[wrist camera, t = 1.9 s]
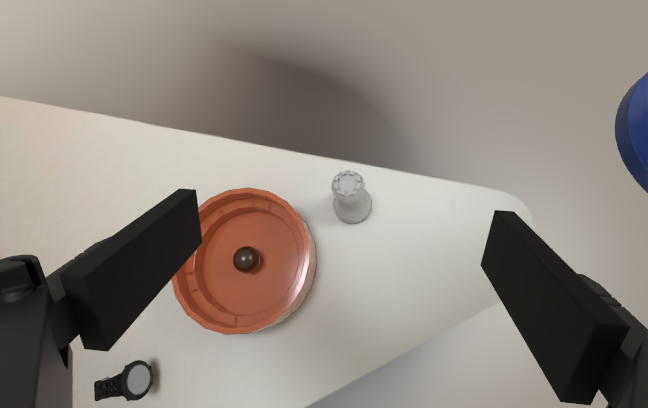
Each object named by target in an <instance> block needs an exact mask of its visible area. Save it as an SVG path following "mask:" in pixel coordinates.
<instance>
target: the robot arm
mask: <svg viewBox="0 0 648 408" xmlns="http://www.w3.org/2000/svg"><path fill="white" fill-rule="evenodd" d="M202 243H203V242H202V234H201V227H200V219H199V211H198V204H197V196H196V190H191V189H178V190H177V191H176V192H174V193H173V194H171V195H170V196H168V197H167V198H166V199H164V200H163V201H161V202H160V203H159V204H157V205H156V206H154V207H153V208H151V209H150V210H149V211H147V212H146V213H144V214H143V215H142V216H140V217H139V218H137V219H136V220H134V221H133V222H132V223H130V224H129V225H127V226H126V227H125V228H123V229H122V230H120V231H119V232H117V233H116V234H115V235H113V236H112V237H109V238H107V239H104V240H102V241H100V242H97V243H95V244H94V245H92V246H91V247H89V248H88V249H86V250H85V251H84V253H81V254H79V255H78V256H76V257H75V259H72V260H70V261H69V262H68V263H66V264H65V265H63V266H62V267H60V268H59V269H57V270H56V271H54V272H53V273H52V274H50V275H49V276H47V277H46V278H45V276H44V273H43V270H42V268H41V265H40V262H39V260H38V257H36V256H33V255H18V256H11V257H7V258H4V259H0V408H72V354H73V353H72V350H71V347H70V344H69V343H71V342H72V341H73V340H74V339H75V338H76V337H77V336H78V335H79V334H80V337H81V340H82V343H83V346H84V349H90V350H99V351H109V350H110V349H111V347H112V346H113V345H114V344H115V343H116V342H117V340H118V339H119V338H120V337H121V336H122V335H123V334H124V332H125V331H126V330H127V329H128V328H129V327H130V326H131V324H132V323H133V322H134V321H135V320H136V319H137V317H138V316H139V315H140V314H141V313H142V312H143V311H144V309H145V308H146V307H147V306H148V305H149V304H150V303H151V301H152V300H153V299H154V298H155V297H156V296H157V294H158V293H159V292H160V291H161V290H162V289H163V288H164V286H165V285H166V284H167V283H168V282H169V281H170V280H171V278H172V277H173V276H174V275H175V274H176V273H177V271H178V270H179V269H180V268H181V267H182V266H183V265H184V263H185V262H186V261H187V260H188V259H189V258H190V257H191V255H192V254H193V253H194V252H195V251H196V250H197V248H198V247H199V246H200V245H201V244H202ZM481 267H482V269H483V270H484V272H485V274H486V275H487V277H488V279H489V280H490V282H491V284H492V286H493V287H494V289H495V291H496V292H497V294H498V296H499V298H500V299H501V301H502V303H503V304H504V306H505V308H506V309H507V311H508V313H509V315H510V316H511V318H512V320H513V321H514V323H515V325H516V327H517V328H518V330H519V332H520V333H521V335H522V337H523V339H524V340H525V342H526V344H527V345H528V347H529V349H530V351H531V352H532V354H533V356H534V357H535V359H536V361H537V362H538V364H539V366H540V368H541V369H542V371H543V373H544V375H545V376H546V378H547V380H548V381H549V383H550V385H551V386H552V388H553V390H554V391H555V393H556V395H557V397H558V398H559V400H560V402H566V403H576V404H584V405H591V403H592V401H593V399H594V397H595V395H596V393H597V391H598V389H599V390H600V391H601V393H602V394H603V396H604V397H605V398H606V400H607V401H608V405H607V407H606V408H648V329H647V328H645V326H644V325H642V324H641V323H640V322H639V321H638V320H637V319H636V318H635V317H634V316H633V315H632V314H631V313H630V312H629V311H628V310H626V309H625V308H624V307H621V304H620V303H619V302H618V301H617V300H616V299H615V298H612V297H611V295H610V294H609V293H608V292H607V291H606V290H605V289H604V288H603V287H602V286H601V285H600V284H598V283H596V282H595V281H593V280H591V279H590V278H588V277H587V276H585V275H582V274H577V273H575V272H574V271H573V270H572V269H571V268H570V267H569V266H568V265H567V264H566V263H565V262H564V261H563V260H562V259H561V258H560V257H559V256H558V255H557V254H556V253H555V252H554V251H553V250H552V249H551V248H550V247H549V246H548V245H547V244H546V243H545V242H544V241H543V240H542V239H541V238H540V237H539V236H538V235H537V234H536V233H535V232H534V231H533V230H532V229H531V228H530V227H529V226H528V225H527V224H526V223H525V222H524V221H523V220H522V219H521V218H520V217H519V216H518V215H517V214H516V213H515V212H512V211H498V210H495V212H494V216H493V220H492V224H491V227H490V231H489V235H488V239H487V243H486V247H485V250H484V254H483V258H482V262H481Z"/></svg>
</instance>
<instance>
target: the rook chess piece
mask: <svg viewBox="0 0 648 408" xmlns="http://www.w3.org/2000/svg"><path fill="white" fill-rule="evenodd" d="M364 187H365V183H364V180H363V178H362V177H361V176H360V175H359V174H358V173H356V172H354V171H343V172H341V173H339V174H338V175H337V176H336V177H335V178H334V180H333V182H332V191H333V194H334V195H335V197H334V204H333V206H334V210H335V213H336V215H337V216H338V217H339V218H340V219H341V220H342V221H344V222H347V223H358V222H360V221H363V220H364V219H365V218H366V217H367V216H368V215H369V213H370V211H371V205H372V202H371V199H370V196H369V194H368V192H367V191H366V190H365V189H364Z"/></svg>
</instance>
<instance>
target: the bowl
mask: <svg viewBox="0 0 648 408" xmlns="http://www.w3.org/2000/svg"><path fill="white" fill-rule="evenodd" d="M198 211H199V219H200V227H201V234H202V242H203V243H202V244H201V245H200V246H199V247H198V248H197V250H196V251H195V252H194V253H193V254H192V255H191V257H190V258H189V259H188V260H187V261H186V262H185V263H184V265H183V266H182V267H181V268H180V269H179V270H178V271H177V273H176V274H175V275H174V276H173V277H172V278H171V279H172V284H173V288H174V292H175V296H176V298H177V299H178V301H179V302H180V304H181V306H182V307H183V309H184V310H185V312H186V314H187V315H188V316H190V317H191V318H192V319H193V320H195V321H196V322H197V323H199V324H200V325H201V326H202V327H204V328H206V329H209V330H213V331H216V332H219V333H222V334H227V335H229V334H244V333H252V332H256V331H261V330H264V329H266V328H269V327H271V326H273V325H276V324H278V323H280V322H282V321H284V320H285V319H286V318H287V317H288V316H289V315H290V314H292V313H293V312H294V311H295V310H296V309H297V308H298V307H299V306H300V305H301V303H302V301H303V300H304V298H305V296H306V295H307V293H308V291H309V290H310V288H311V285H312V281H313V277H314V273H315V269H316V252H315V243H314V241H313V238H312V236H311V233H310V231H309V228H308V226H307V225H306V223H305V222H304V221H303V220H302V219H301V218H300V216H299V215H298V214H297V213H296V212H295V211H294V209H293V208H292V207H291V206H290V205H289V204H288V202H286V201H285V200H283V199H281V198H280V197H278V196H276V195H274V194H273V193H271V192H269V191H264V190H259V189H254V188H242V189H234V190H228V191H226V192H223V193H221V194H219V195H216V196H214V197H212V198H210V199H208V200H207V201H206V202H205V203H203V204H202V205H201V206H200V207H198ZM243 246H251V247H253V248H255V249H256V250H257V251H258V253H259V255H260V264H259V266H258V267H257V269H256V270H254V271H253V272H250V273H242V272H239V271H238V270H237V269H236V268H235V267H234V264H233V256H234V253H235V252H236V251H237V250H238V249H239V248H241V247H243Z"/></svg>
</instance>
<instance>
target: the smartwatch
mask: <svg viewBox="0 0 648 408" xmlns="http://www.w3.org/2000/svg"><path fill="white" fill-rule="evenodd" d="M105 379H107V380H105ZM103 380H104V381H103ZM103 380H101V381H100V380H99V381H96V382H95V383H94V391H95V401H99V400H101V399H107V398H109V397H119V396H124V397H125V398H126V399H127V401H130V400H139V399H141V398H142V397H144V396H145V395H146V394H147V392H148V391H149V389H150V387H151V385H152V369H151V366H149V365H148V364H147V363H146V362H144V361H140V360H138V361H134V362H132V363H130V364H129V365H126V366H125V368H124V370H123V372H122V373H120V374H118V375H116V376H114V377H112V378H109V377H107V378H104V379H103ZM111 382H112V383H111ZM115 389H116V391H115ZM111 390H112V391H111Z"/></svg>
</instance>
